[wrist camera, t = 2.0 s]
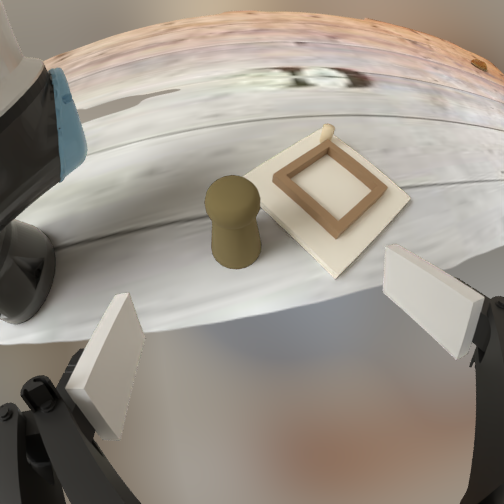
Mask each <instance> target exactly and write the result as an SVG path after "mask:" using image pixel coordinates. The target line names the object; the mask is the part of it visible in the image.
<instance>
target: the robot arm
mask: <svg viewBox="0 0 504 504" xmlns="http://www.w3.org/2000/svg"><path fill="white" fill-rule="evenodd" d="M86 155H87V142H86V138H85V135H84V131H83V128H82V125H81V122H80V119H79V115H78V112H77V109H76V106H75V103H74V101H73V99H72V95H71V92H70V88H69V85H68V82H67V80H66V77H65V74H64V72H63V70H62V69H61V68H55V69H50V70H49V71H48V72H47V70H46V68H45V65H44V63H43V61H42V60H41V59H37V58H30V57H24V56H23V54H22V52H21V50H20V48H19V45H18V43H17V40H16V38H15V35H14V33H13V30H12V28H11V25H10V22H9V20H8V17H7V14H6V11H5V8H4V6H3V3H2V0H0V319H1V320H3V321H6V322H8V323H11V324H19V323H22V322H25V321H27V320H28V319H30V318H31V317H32V316H33V315H34V314H35V313H36V312H37V311H38V310H39V308H40V307H41V306H42V304H43V303H44V301H45V299H46V297H47V295H48V293H49V290H50V287H51V284H52V281H53V276H54V270H55V254H54V249H53V246H52V243H51V241H50V240H49V238H48V237H47V236H46V235H45V234H44V233H43V232H42V231H41V230H39V229H38V228H37V227H35V226H33V225H30V224H27V223H24V222H21V221H18V220H15V218H16V217H17V216H18V215H19V214H20V213H21V212H23V211H24V210H25V209H26V208H27V207H28V206H30V205H31V204H32V203H33V202H34V201H36V200H37V199H38V198H39V197H40V196H42V195H43V194H44V193H45V192H47V191H48V190H49V189H51V188H52V187H53V186H54V185H56V184H57V183H58V182H59V183H61V182H62V181H63V180H64V178H65V177H66V176H67V175H68V174H69V173H71V172H72V171H73V170H74V169H76V168H77V167H78V166H80V165H81V164H82V163H83V162H84V160H85V158H86ZM383 293H384V294H385V295H387V296H388V297H389V298H390V299H391V300H392V301H393V302H394V303H396V304H397V305H398V306H399V307H400V308H401V309H402V310H403V311H405V312H406V313H407V314H408V315H409V316H410V317H411V318H412V319H413V320H414V321H416V322H417V323H418V324H419V325H420V326H421V327H422V328H423V329H424V330H425V331H426V332H427V333H428V334H429V335H431V336H432V337H433V338H434V339H435V340H436V341H437V342H438V343H439V344H440V345H441V346H442V347H443V348H444V349H445V350H446V351H447V352H448V353H450V355H452V357H454V358H455V359H456V360H458V359H460V358H461V357H463V356H465V355H467V354H468V352H469V349H470V347H471V344H472V342H473V343H474V344H475V345H476V349H475V352H474V355H473V358H472V360H471V363H470V366H469V367H472V365H473V363H474V362H475V369H476V426H475V427H476V428H475V440H474V450H473V459H472V467H471V473H470V479H469V485H468V489H467V491H466V493H465V495H464V497H463V498H462V500H461V502H460V504H504V297H501V296H496V297H493V298H492V299H489V298H488V297H486V296H485V295H483V294H482V293H480V292H479V291H477V290H476V289H474V288H471V286H469V285H468V284H465V282H463V281H461V280H460V279H458V278H455V277H453V276H451V275H449V274H448V273H446V272H444V271H443V270H441V269H439V268H438V267H436V266H434V265H433V264H431V263H429V262H428V261H426V260H424V259H422V258H421V257H419V256H417V255H415V254H414V253H412V252H410V251H408V250H407V249H405V248H403V247H401V246H399V245H398V244H392V245H387V246H385V258H384V279H383ZM145 339H146V338H145V336H144V333H143V330H142V328H141V325H140V322H139V319H138V317H137V314H136V311H135V308H134V305H133V302H132V299H131V296H130V293H129V292H128V293H122V294H115V296H114V298H113V299H112V301H111V303H110V305H109V306H108V308H107V310H106V311H105V313H104V315H103V317H102V318H101V320H100V322H99V324H98V325H97V327H96V329H95V331H94V333H93V335H92V336H91V338H90V340H89V342H88V344H87V346H86V348H85V349H80V350H79V351H78V352H77V353H76V354H75V355H73V357H72V358H71V360H70V362H69V364H68V366H67V368H66V370H65V373H63V375H62V378H61V379H60V381H59V383H58V385H57V387H56V388H55V387H54V385H53V383H52V382H51V380H50V379H49V378H48V377H47V376H44V375H42V376H36V377H33V378H32V379H30V380H29V381H27V382H26V383H25V384H24V385H23V387H22V389H21V397H22V398H23V400H24V401H25V403H26V404H27V405H28V407H29V408H30V409H31V410H29V411H25V412H21V411H20V410H19V408H18V407H17V406H16V405H15V404H13V403H6V404H4V405H2V406H0V504H66V502H65V498H64V493H63V489H64V491H65V493H66V495H67V497H68V499H69V501H70V502H71V504H141V503H140V501H139V500H138V499H137V498H136V497H135V496H134V494H133V493H132V492H131V491H130V489H129V488H128V487H127V486H126V484H125V483H124V482H123V480H122V479H121V478H120V476H119V475H118V474H117V472H116V471H115V469H114V468H113V467H112V465H111V464H110V463H109V461H108V459H107V458H106V457H105V455H104V454H103V452H102V450H101V449H100V447H99V446H98V444H97V443H96V442H95V441H94V439H93V437H94V433H95V431H96V432H97V434H98V435H99V436H100V437H101V438H102V440H116V441H120V440H121V435H122V430H123V426H124V421H125V417H126V412H127V408H128V404H129V400H130V395H131V391H132V387H133V383H134V379H135V375H136V372H137V368H138V364H139V360H140V357H141V353H142V350H143V346H144V343H145ZM62 487H63V489H62Z"/></svg>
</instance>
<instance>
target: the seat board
mask: <svg viewBox="0 0 504 504" xmlns="http://www.w3.org/2000/svg"><path fill="white" fill-rule="evenodd" d="M334 130H335V127H334V126H333V125H331V124H324V125H323V128H321V129H319V130H317V131H316V132H314V133H312V134H311V135H309V136H307V137H305V138H304V139H302V140H300V141H299V142H297V143H295V144H294V145H292V146H290V147H289V148H287V149H285V150H284V151H282V152H280V153H279V154H277V155H275V156H274V157H272V158H271V159H269V160H267V161H266V162H264V163H263V164H261V165H259V166H258V167H256V168H255V169H253V170H252V171H250V172H248V173H247V174H245V175H244V176H242V177H244V178H246V179H248V180H249V181H251V182H252V183H253V184H254V185H255V186H256V188H257V189H258V192H259V195H260V198H261V200H260V207H261V208H262V209H263V210H264V211H266V212H267V213H268V214H269V215H270V216H271V217H272V218H273V219H274V220H275V221H276V222H277V223H278V224H279V225H280V226H281V227H282V228H283V229H284V230H286V231H287V232H288V233H289V234H290V235H291V236H292V237H293V238H294V239H295V240H296V241H297V242H298V243H299V244H300V245H301V246H302V247H303V248H304V249H305V250H306V251H307V252H308V253H309V254H310V255H311V256H312V257H313V258H314V259H315V260H316V261H317V262H318V263H319V264H320V265H321V266H322V267H323V268H324V269H325V270H326V271H327V272H328V273H329V274H330V275H331V276H332V277H333V278H334V279H336V278H337V277H338V276H339V275H340V274H341V273H342V272H343V271H344V270H345V269H346V268H347V267H348V266H349V265H350V264H351V263H352V262H353V261H354V260H355V259H356V258H357V257H358V256H359V255H360V254H361V253H362V252H363V251H364V250H365V248H366V247H367V246H368V245H369V244H370V243H371V242H372V241H373V240H374V239H375V238H376V237H377V236H378V235H379V234H380V233H381V231H382V230H383V229H384V228H385V227H386V226H387V225H388V224H389V223H390V222H391V221H392V219H393V218H394V217H395V216H396V215H397V214H398V213H399V212H400V211H401V209H402V208H403V207H404V206H405V205H406V204H407V203H408V201H409V200H410V199H411V198H410V197H409V196H408V195H407V194H406V193H405V192H404V191H403V190H402V189H401V188H399V187H398V186H397V185H396V184H395V183H394V182H393V181H391V180H390V179H389V178H388V177H387V176H386V175H384V174H383V173H382V172H381V171H380V170H378V169H377V168H376V167H375V166H374V165H372V164H371V163H370V162H369V161H367V160H366V159H365V158H364V157H362V156H361V155H360V154H359V153H357V152H356V151H355V150H353V149H352V148H351V147H349V146H348V145H347V144H345V143H344V142H343V141H341V140H340V139H339V138H337V137H336V136H335V135H333V134H334Z"/></svg>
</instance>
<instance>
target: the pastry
mask: <svg viewBox="0 0 504 504" xmlns="http://www.w3.org/2000/svg"><path fill="white" fill-rule="evenodd" d="M471 63H472V64H474V65H475V66H476V67H477V68H479V69H480V70H483V71H487V65H486V64H485V63H484V62H482V61H480V60H478V59H475V60H472V61H471Z"/></svg>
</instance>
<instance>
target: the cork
mask: <svg viewBox="0 0 504 504" xmlns="http://www.w3.org/2000/svg"><path fill="white" fill-rule="evenodd" d="M260 200H261V198H260V195H259V192H258V189H257V188H256V186H255V185H254V184H253V183H252V182H251V181H249V180H248V179H246V178H244V177H241V176H235V175H230V176H224V177H222V178H220V179H218V180H216V181H215V182H214V183H213V184H212V185H211V186H210V187H209V189H208V191H207V193H206V197H205V208H206V212H207V214H208V216H209V217H210V219H211V220H212V242H211V248H212V254H213V256H214V258H215V259H216V261H217V262H219V263H220V264H221V265H222V266H225V267H227V268H230V269H241V268H245V267H247V266H249V265H251V264H253V263H254V261H255V260H256V259H257V258H258V256H259V254H260V252H261V241H260V236H259V231H258V226H257V221H256V216H257V214H258V212H259V210H260Z"/></svg>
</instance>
